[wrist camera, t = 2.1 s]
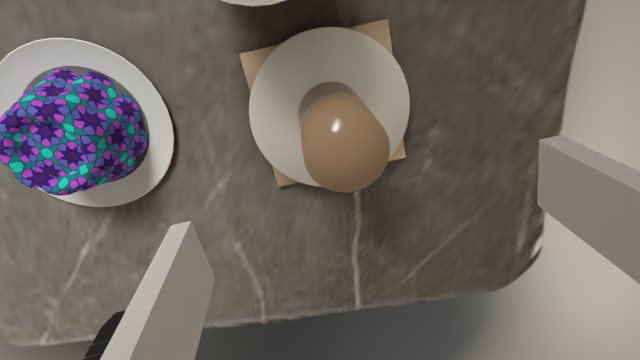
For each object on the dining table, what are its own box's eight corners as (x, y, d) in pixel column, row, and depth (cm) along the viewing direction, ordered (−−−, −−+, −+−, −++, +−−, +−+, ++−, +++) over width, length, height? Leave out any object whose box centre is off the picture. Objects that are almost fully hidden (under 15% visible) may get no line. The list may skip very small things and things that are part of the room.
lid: (229, 48, 25) (203, 68, 17) (394, 8, 25) (446, 10, 17) (273, 194, 29) (269, 263, 22) (412, 161, 29) (459, 219, 21)
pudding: (92, 228, 30) (56, 270, 25) (-48, 105, 25) (-124, 128, 21) (211, 147, 28) (196, 176, 23) (83, -4, 23) (32, -6, 19)
